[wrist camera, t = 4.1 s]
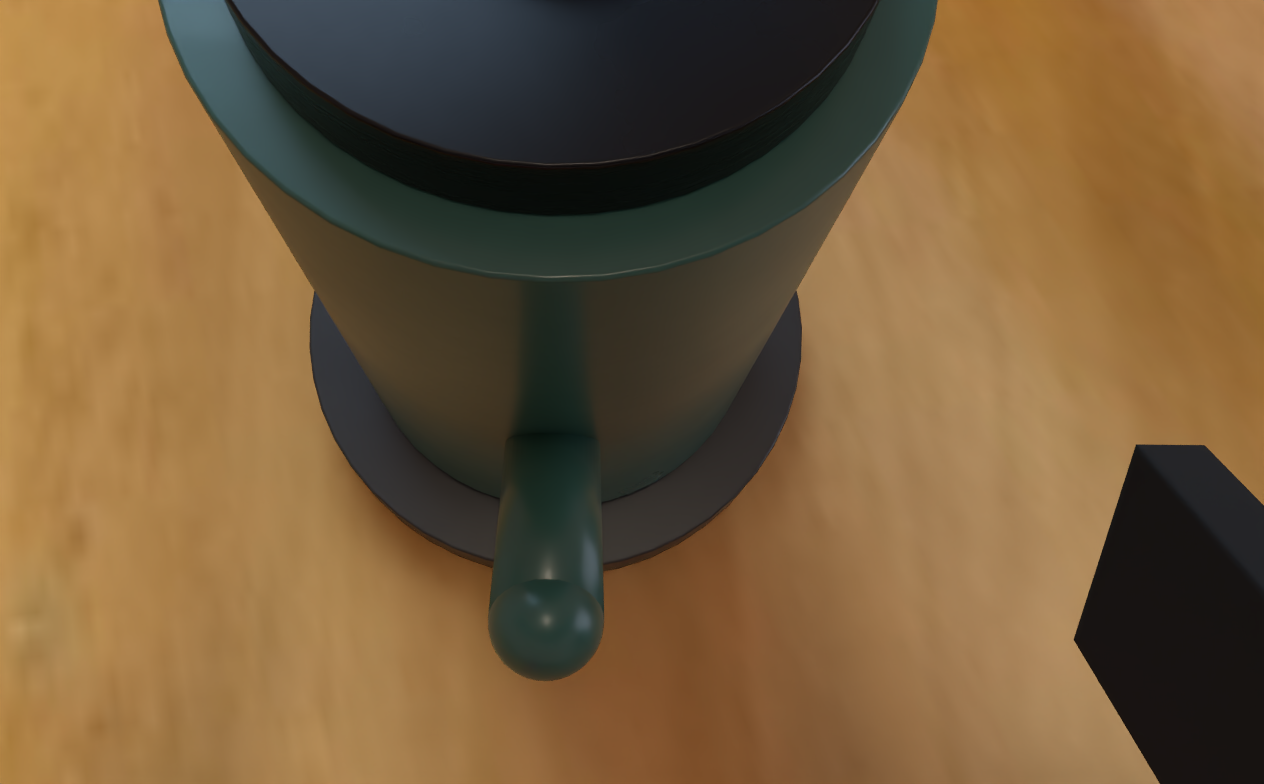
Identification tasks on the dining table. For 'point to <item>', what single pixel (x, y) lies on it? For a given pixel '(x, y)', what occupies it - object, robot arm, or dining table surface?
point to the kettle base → (627, 521)
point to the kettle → (552, 227)
